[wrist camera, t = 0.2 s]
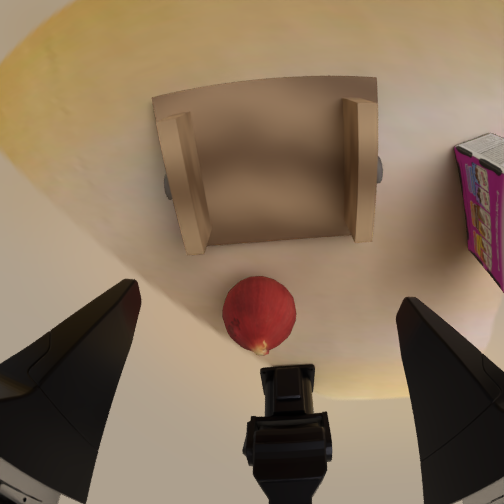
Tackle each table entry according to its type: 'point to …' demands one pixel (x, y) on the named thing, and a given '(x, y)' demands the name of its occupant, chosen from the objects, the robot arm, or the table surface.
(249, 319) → the onion
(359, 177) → the cup
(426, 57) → the table surface
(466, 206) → the candy bar box
